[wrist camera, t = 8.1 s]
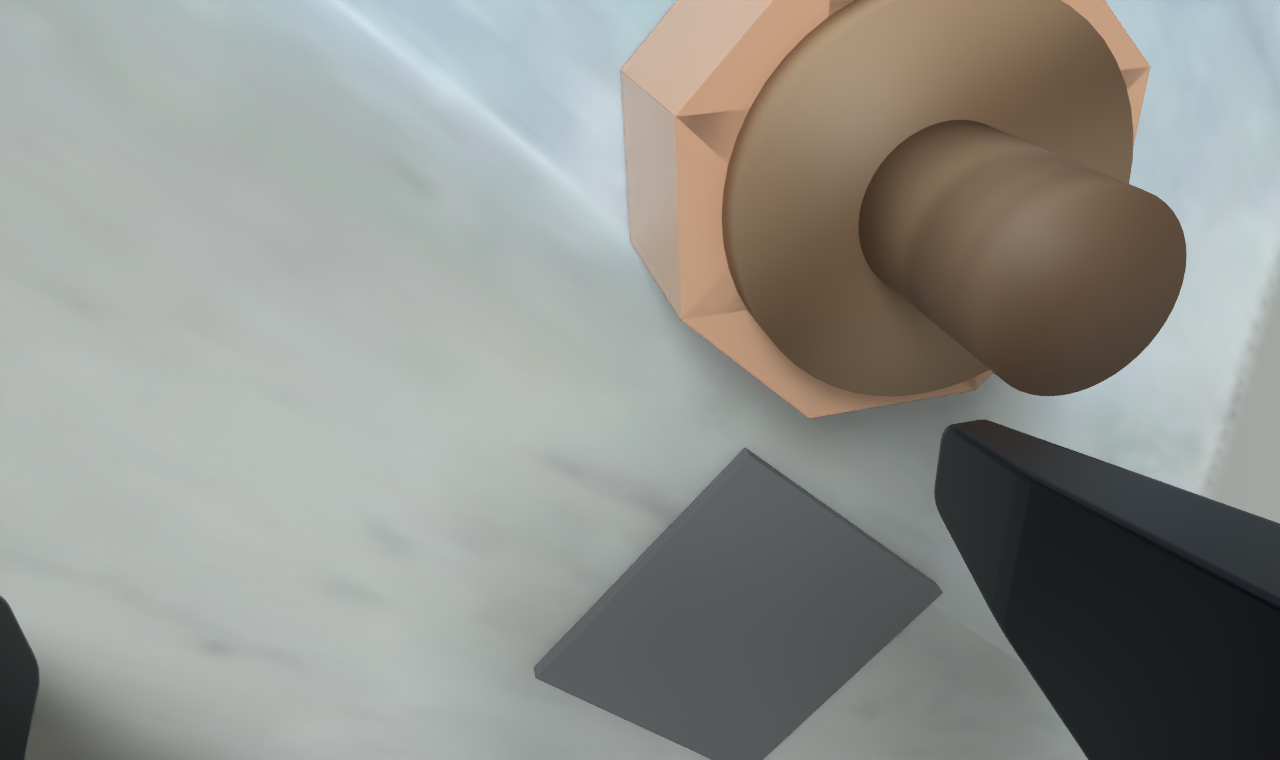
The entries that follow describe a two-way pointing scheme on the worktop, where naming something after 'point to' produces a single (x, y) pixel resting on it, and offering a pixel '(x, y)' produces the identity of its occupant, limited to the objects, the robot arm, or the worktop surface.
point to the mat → (739, 618)
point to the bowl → (699, 156)
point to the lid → (949, 202)
